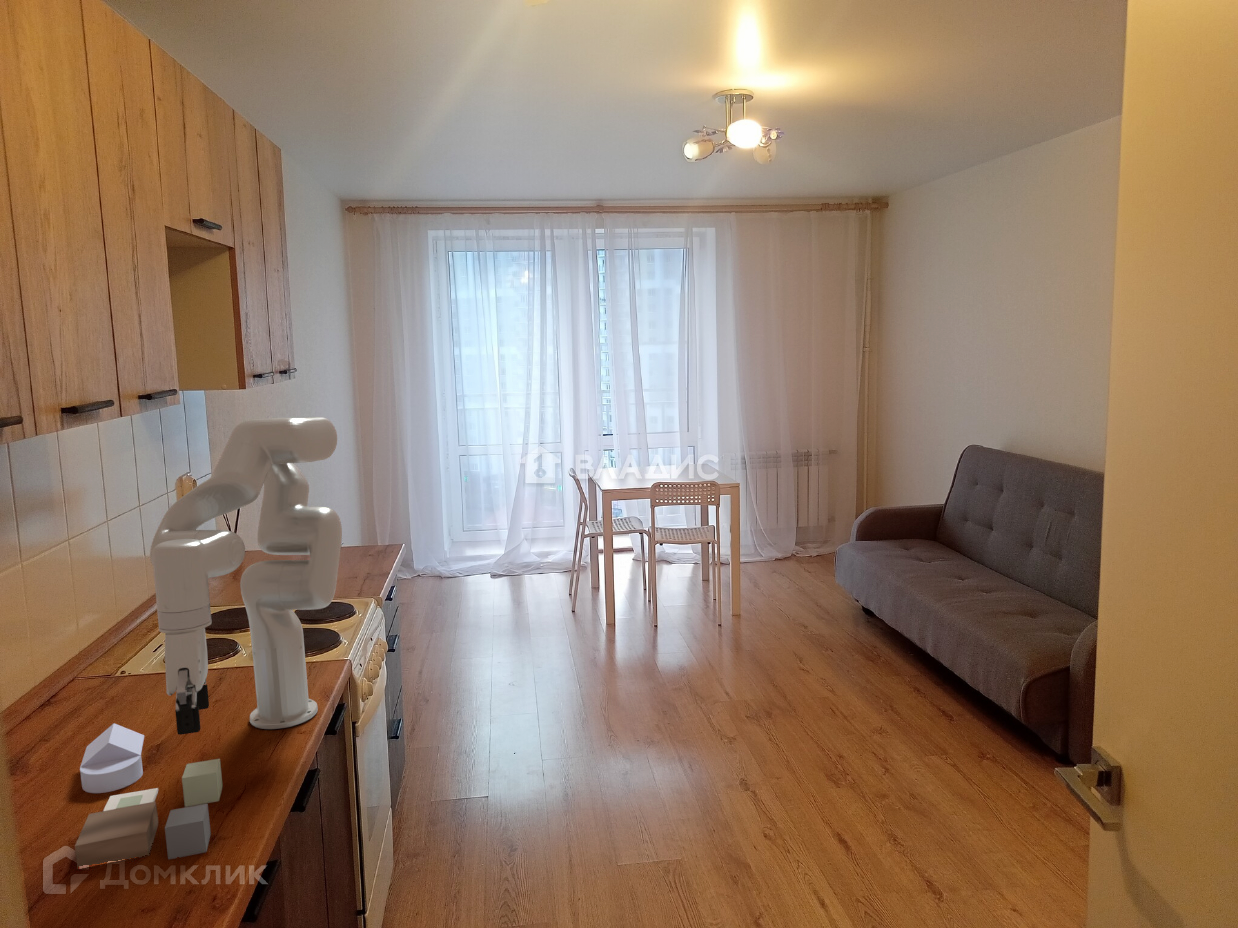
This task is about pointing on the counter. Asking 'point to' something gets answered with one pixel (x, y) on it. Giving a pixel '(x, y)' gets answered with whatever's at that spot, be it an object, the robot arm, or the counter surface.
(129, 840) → the taupe block
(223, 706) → the counter surface
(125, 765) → the wedge on round base
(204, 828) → the charcoal cube
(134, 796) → the tile
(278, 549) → the robot arm
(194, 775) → the sage cube
